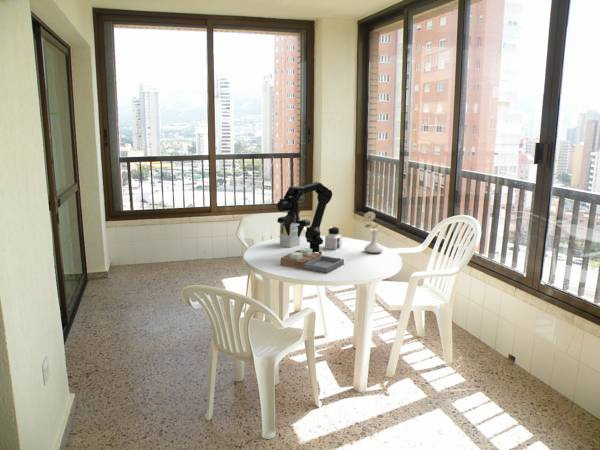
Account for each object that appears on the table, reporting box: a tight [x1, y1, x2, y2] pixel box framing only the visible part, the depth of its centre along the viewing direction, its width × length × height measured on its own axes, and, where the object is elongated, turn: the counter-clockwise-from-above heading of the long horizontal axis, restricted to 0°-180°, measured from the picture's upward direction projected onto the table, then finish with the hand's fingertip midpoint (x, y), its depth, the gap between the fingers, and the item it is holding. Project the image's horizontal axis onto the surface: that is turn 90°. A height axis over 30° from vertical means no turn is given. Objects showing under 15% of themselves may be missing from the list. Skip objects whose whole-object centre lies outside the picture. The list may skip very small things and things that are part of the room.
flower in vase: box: [362, 211, 384, 254], centre depth 316 cm, size 13×11×25 cm
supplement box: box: [279, 223, 301, 248], centre depth 329 cm, size 10×9×17 cm
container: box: [324, 226, 343, 251], centre depth 325 cm, size 8×8×13 cm
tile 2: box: [299, 247, 312, 255], centre depth 297 cm, size 5×5×2 cm
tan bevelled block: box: [280, 249, 323, 270], centre depth 293 cm, size 20×15×4 cm
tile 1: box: [289, 251, 303, 260], centre depth 288 cm, size 5×5×2 cm
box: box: [303, 255, 345, 274], centre depth 286 cm, size 20×14×3 cm
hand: (293, 236), depth 299 cm, fingers open, 6 cm apart
